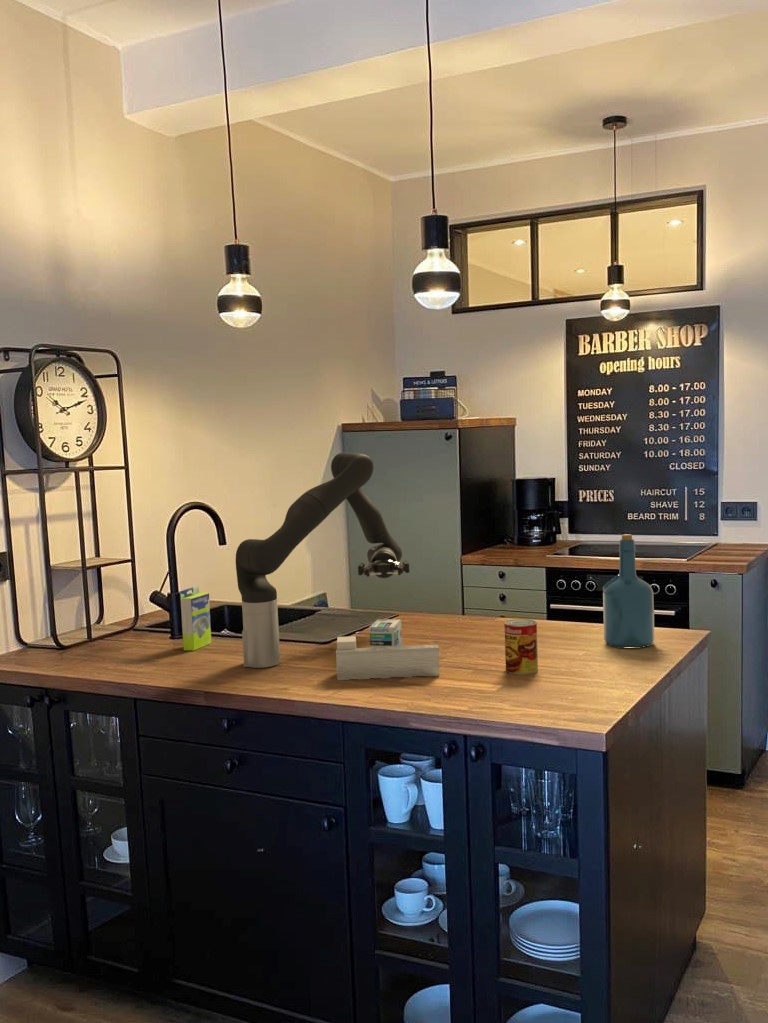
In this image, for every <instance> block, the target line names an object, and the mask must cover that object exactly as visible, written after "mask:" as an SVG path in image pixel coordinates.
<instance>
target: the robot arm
mask: <svg viewBox="0 0 768 1023" xmlns="http://www.w3.org/2000/svg"><path fill="white" fill-rule="evenodd" d="M330 470H331V475H332V477H333V478H332V479H330V480H327V481H326V482H323V483H320V484H318V485H317V486H314V487H312V488H310V489H308V490H306V491H305V492H304V493H302V494H301V495H300V496H299V497H297V498H296V500H295V501H294V502H293V503H291V505H290V506H289V508H288V510H287V511H286V514H285V517H284V521H283V523H282V524H281V526H280V527H279V529H278V530H276V531H275V532H274V533H273V534H271V535H270V536H269V537H267V538H265V539H256V538H248V539H245V540H243V541H241V542H240V543H239V545H238V547H237V548H236V553H235V570H236V579H237V580H236V581H237V587H238V591H239V593H240V596H241V608H242V626H243V630H242V631H241V635H242V636H241V637H242V639H241V640H242V654H243V656H242V658H243V668H255V669H258V668H259V669H260V668H262V669H263V668H269V667H275V666H278V665H279V664H281V654H280V653H281V652H280V632H279V631H280V629H279V616H278V615H279V613H278V612H279V611H278V594H277V589H276V587H275V586H274V585H272V584H271V583H270V582H269V581H268V579H267V576H268V575H271V574H273V573H275V572H276V571H277V570H278V569H279V568H280V567H281V566H282V565H283V563H284V562H285V560H286V559H287V558H288V557H289V556H290V554H291V553H292V552H293V551H294V550H295V548H296V547H297V546H298V545H299V544H301V543H302V542H303V541H304V539H305V538H306V537H308V536H309V534H311V533H312V532H313V531H314V530H315V529H316V528H317V527H319V525H320V524H321V523H323V522H324V520H326V518H327V517H328V516H329V515H330V514H331V513H332V512H333V511H335V510H336V509H337V507H339V506H340V505H341V504H342V503H343V502H344V501H345V500H347V502H348V503H349V504H348V505H350V507H351V509H352V510H353V512H354V513H355V516H356V519H357V520H358V523H359V525H360V528H361V530H362V532H363V535H364V537H365V540H366V541H367V543H369V544H378V545H374V546H372V547H370V548H369V549H368V550H367V553H366V557H367V561H368V565H366V564H365V563H364V562H360V563H358V565H357V574H358V576H362V575H364V576H366V577H367V578H368V577H370V576H376V577H378V578H380V579H387V578H390V577H392V576H394V575H397V576H401V574H404V573H406V574H408V573H410V563H409V561H408V560H403V561H402V563H400V561H401V560H402V558H403V551H402V548H401V546H400V545H399V544H398V542H397V541H396V540H395V539H394V538H393V536H391V534H390V532H389V531H388V528H387V526H386V523H385V521H384V518H383V516H382V513H381V512H380V510H379V508H378V507H377V506H376V505H375V504H374V503H373V501H371V500H370V499H371V498H369V497H368V496H367V495H366V494H365V493H364V491H363V490H362V487H363V486H364V485H365V484H367V483H368V481H369V480H370V479H371V477H372V475H373V472H374V461H373V460H372V458H371V457H370V456H368V455H366V454H365V453H359V452H340V453H337V454H336V455H334V457H333V459H332V460H331V464H330Z"/></svg>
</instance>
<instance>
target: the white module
mask: <svg viewBox="0 0 768 1023" xmlns="http://www.w3.org/2000/svg"><path fill="white" fill-rule="evenodd" d="M336 639H337V640H336V649H349V648H357V637H356V636H355V635H354V636H353V635H352V636H338V637H337V638H336Z"/></svg>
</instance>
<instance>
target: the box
mask: <svg viewBox="0 0 768 1023" xmlns="http://www.w3.org/2000/svg"><path fill="white" fill-rule="evenodd" d="M199 588H200V587H199V585H196V586H193V587H192V586H191V587H189V588H186V589H182V590H179V597H180V610H181V611H180V612H181V628H182V629H181V630H182V642H183V643H182V646H183V651H197V650H198V649H201V648H202V647H206V646H207V645H210V644H212V629H211V627H212V626H211V612H210V609H211V608H210V606H211V605H210V592H202V591H201V592H200V589H199ZM190 591H191V592H190ZM188 592H189V593H188Z"/></svg>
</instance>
